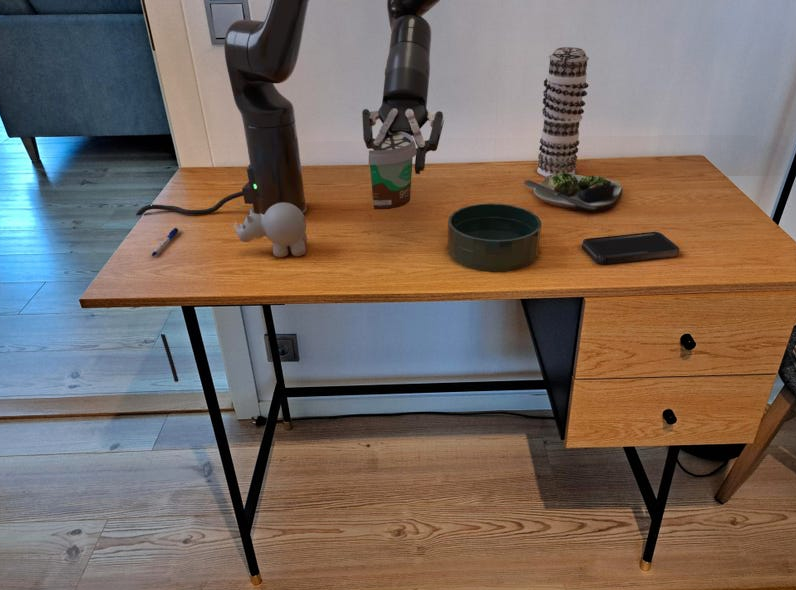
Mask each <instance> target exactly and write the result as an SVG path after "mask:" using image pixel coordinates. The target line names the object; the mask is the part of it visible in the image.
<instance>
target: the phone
mask: <svg viewBox="0 0 796 590" xmlns="http://www.w3.org/2000/svg"><path fill="white" fill-rule="evenodd" d="M581 248H582V249H583V250H584V251H585V253H586V254H588V255H589V256H590V258H591V259H592V260H593V261H594V262H595V263H597V264H599V265H609V264H619V263H628V262H629V263H630V262H638V261H645V260H654V259H655V260H657V259H665V258H673V257H677V256H678V255H679V251H680V247H679V246H678V245H677V244H675V243H674V242H673V241H672V240H671V239H669V238H668V237H666V235H664V234H663V233H662V232H659V231H648V232H639V233H629V234H619V235H618V234H617V235H608V236H600V237H590V238H584V239H582V244H581Z"/></svg>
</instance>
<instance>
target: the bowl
mask: <svg viewBox="0 0 796 590" xmlns="http://www.w3.org/2000/svg"><path fill="white" fill-rule="evenodd" d="M541 232H542V220H541V218H540V217H539V216H538V214H535V213H534V212H532V211H531V210H529V209H526V208H524V207H521V206H517V205H512V204H506V203H494V202H493V203H489V202H488V203H477V204H476V203H475V204H472V205H467V206H464V207H461V208H458V209H457V210H455V211H453V212H452V213H451V214H450V215H449V216H448V219H447V250H448V254H449V257H451V259H452V260H453V261H455V262H456V263H457V264H459V265H461V266H464V267H467V268H470V269H472V270H477V271H484V272H497V273H498V272H509V271H515V270H519V269H522V268H525V267H527V266H528V265H529V266H530V264H532V263H533V262H534V261H535V260H536V258H537V257H538V253H539V250H540V243H541Z"/></svg>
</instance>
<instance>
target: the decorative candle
mask: <svg viewBox="0 0 796 590" xmlns="http://www.w3.org/2000/svg"><path fill="white" fill-rule="evenodd" d="M548 59H549V65H548V66H549V67H548V72H547V76H546V78H545V79H544V80H543V86H544V87H545V89H544V90H543V91H542V93H543V97H544V98H542V104H543V105H544V107H543V108H542V117H541V118H542V119H543V128H542V131H541V138H540V139H539V143H540V145H539V148H538V150H539V151H540V152H539V154H538V156H537V159H538V161H537V169H536V170H537V174H539V175H541V176H542V177H545V178H546V177H547V176H549V175H552V174H558V173H561V172H563V173H568V174H575V175H576V169H577V161H578V155H577V153H579V148H578V146H579V145H580V141H579V138H580V137H579V136H580V130H579V129H580V122H581V121H582V120H583V115H582V114H584V113H585V110H584V109H583V107H584V106H586V102H585V101H584V100H583V98H584V97H586V96H588V92H587V91H586V89H587V88H589V86H590V85H589V84H588V83H587V76H588V74H587V68H588V62H589V60H590V57H588V56H587V53H586V52H585V51H584V50H583V49H582V48H579V47H572V46H565V47H558V48H556V49H555V50H554V51H553V52H552V54H551V55H549V56H548Z"/></svg>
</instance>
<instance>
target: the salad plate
mask: <svg viewBox="0 0 796 590" xmlns="http://www.w3.org/2000/svg"><path fill="white" fill-rule="evenodd" d="M523 184H524V185H525V186H526V187H528V188H530V189H531V190H533V195H534V196H535V197H537V198H538V199H539V200H541V201H542V202H543V203H546V204H548V205H550V206H554V207H559V208H564V209H568V210H573V211H576V212H584V213H601V212H602V213H603V212H606V211H608V210H610V209H612V207H614V206H615V205H616V204H617V202H618V200H619V199H620V197H621V195H622V193H623V190H624V189H623V186H622V184H621V183H619V182H618V181H616V180H613V179H609V178H605V177H603V176H602V177H601V176H599V175H596V176H594V175H589V176H586V175H580V174H576V173H575V174H568V173H563V172H561V173H558V174H552V175H549V176H547V177H546V176H545V177H544V178H543V179H542V180H541V182H540V183H537V182H535V181H532V180H530V179H528V180H524V181H523Z"/></svg>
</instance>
